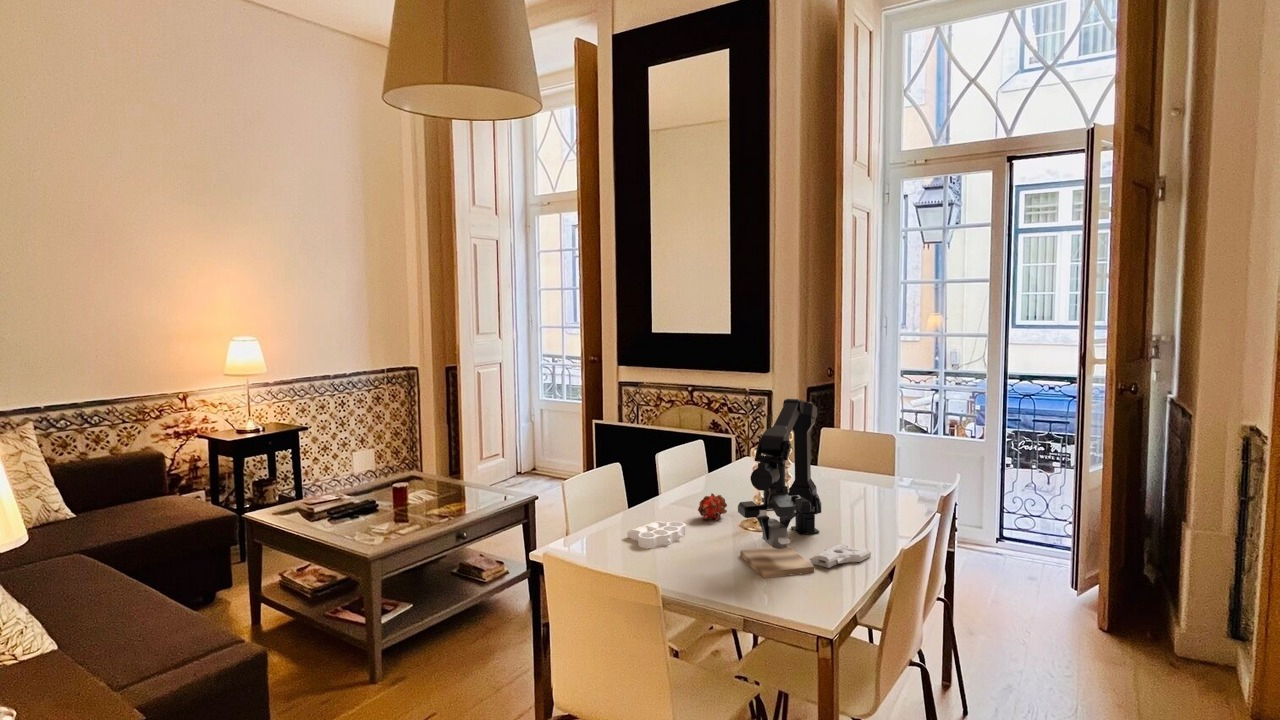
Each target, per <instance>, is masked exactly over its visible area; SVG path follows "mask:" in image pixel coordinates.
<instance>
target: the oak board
mask: <svg viewBox="0 0 1280 720" xmlns="http://www.w3.org/2000/svg"><path fill="white" fill-rule="evenodd" d="M739 554H740V557H741V558H742V559H744V561H745V562H746V563H747V564H748V565H749V566H750V567H751V568H752V569H753V570H754V571H756V573H757V574H759V576H760V577H762V578H763V579H766V578H767V579H768V578H775V577H783V576H784V575H785V576H791V575H790V574H794V575H801V574H800V573H803V574H809V573H811V574H812V573H815V566H814V564H813V563H811V562H809V561H808V560H807V559H806V558H805V557H803V556H802V555H800V553H798V552H797V551H796V550H794V549H793V548H791V546H789V545H787V548H784V549H776V548H773V547H772V546H769V547H768V546H767V547H761V548H759V547H758V548H753V549H752V548H750V549H742V550H740V552H739Z"/></svg>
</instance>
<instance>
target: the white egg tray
mask: <svg viewBox="0 0 1280 720" xmlns="http://www.w3.org/2000/svg"><path fill="white" fill-rule="evenodd" d="M626 535H627V537H628V538H629V539H630V538H631V539H630V540H633V539H634V541H637V542H638V543H637V544H638V545H639V546H640V547H639V546H638V547H639V548H641V547H642V549H648V548H650V549H655V548H657V547H661V546H668V545H671V544H672V543H676V542H679V541H680V540H681V539H682V538H685V536H686V535H687V525H686V523H684V522H682V521H669V522H664V521H661V520H654V521H653V522H651V523H650V522H649V523H647V524H644V525H641V526H639V527H637V528H632V529H630V530H628V531H627V533H626Z"/></svg>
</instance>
